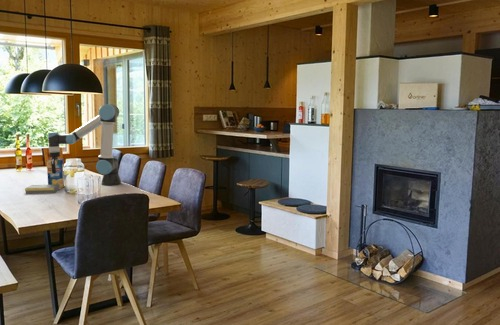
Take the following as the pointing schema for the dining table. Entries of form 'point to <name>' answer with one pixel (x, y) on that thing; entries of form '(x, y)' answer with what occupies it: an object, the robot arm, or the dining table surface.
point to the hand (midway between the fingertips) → (56, 181)
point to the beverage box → (59, 175)
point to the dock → (42, 188)
